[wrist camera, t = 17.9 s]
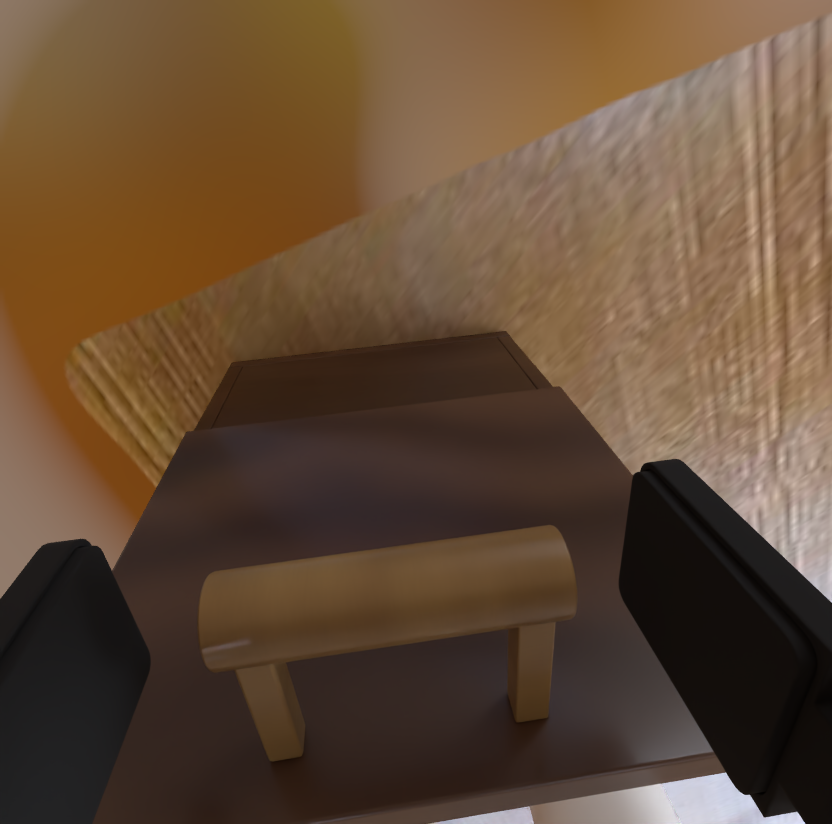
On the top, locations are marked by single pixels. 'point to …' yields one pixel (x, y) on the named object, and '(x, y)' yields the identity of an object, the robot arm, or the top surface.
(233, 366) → the keepsake box
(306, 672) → the lid
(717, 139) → the top surface
